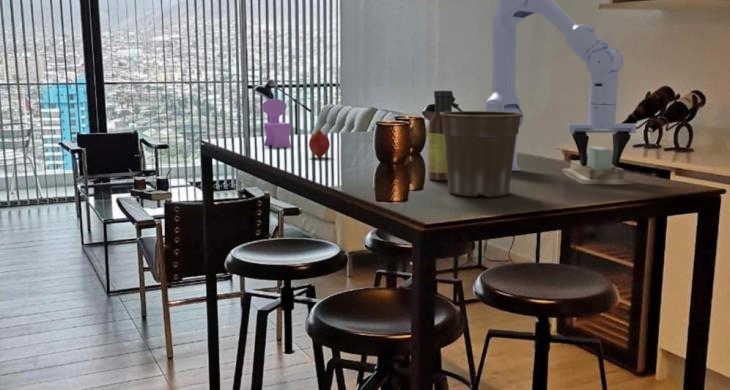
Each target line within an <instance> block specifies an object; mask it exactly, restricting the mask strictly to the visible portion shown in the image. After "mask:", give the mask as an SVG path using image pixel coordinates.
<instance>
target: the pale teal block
mask: <svg viewBox="0 0 730 390" xmlns="http://www.w3.org/2000/svg"><path fill="white" fill-rule="evenodd" d="M612 156H613V149H610V148H606V147H604V146H601V145H600V146H594V145H593V146H591V145H590V146H589V145H588V146H587V166H589V167H592V168H594V169H596V170H612Z"/></svg>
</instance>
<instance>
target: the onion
mask: <svg viewBox="0 0 730 390" xmlns="http://www.w3.org/2000/svg"><path fill="white" fill-rule="evenodd" d="M330 145H331V144H330V140H329V137H328V136H327V135H326V134H325V133H324V132H322V129H320V128H319V129H317V131H316V132H315V133H313V134H312V135H311V137H310V139H309V142H308V146H309V150H310V151H311V152H312V153H313V155H315V156H316V157H317V158H322V157H323V156H325V154H326V153H327V152H328V151H329V149H330Z"/></svg>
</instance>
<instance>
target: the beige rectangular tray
mask: <svg viewBox="0 0 730 390" xmlns="http://www.w3.org/2000/svg"><path fill="white" fill-rule="evenodd" d="M569 163H570V167H569V168H561V173H562V174H564V175H565V176H567V177H568V178H571V180H574V181H575V180H576V181H575V182H577V183H579V184H580V183H581V184H580V185H634V181H635V180H634V179H633V178H631V177H628V176H626V170H625V169H624V168H622V167H619V166H614V165H612V170H596V169H594V168H592V167H589V166H587V164H586V166H582V165H581V163H580V159H579V160H573V159H571V160H570V162H569Z"/></svg>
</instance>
